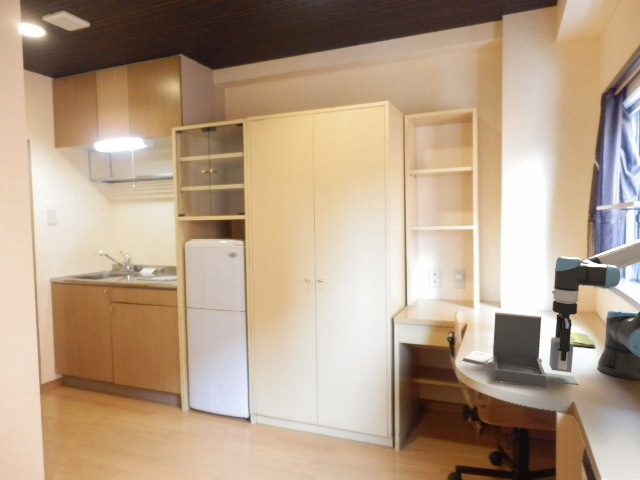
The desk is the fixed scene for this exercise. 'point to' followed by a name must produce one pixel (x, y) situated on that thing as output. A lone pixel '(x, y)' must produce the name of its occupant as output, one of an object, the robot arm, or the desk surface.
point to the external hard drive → (478, 357)
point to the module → (554, 355)
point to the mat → (561, 378)
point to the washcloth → (581, 340)
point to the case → (518, 348)
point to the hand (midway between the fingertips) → (560, 365)
